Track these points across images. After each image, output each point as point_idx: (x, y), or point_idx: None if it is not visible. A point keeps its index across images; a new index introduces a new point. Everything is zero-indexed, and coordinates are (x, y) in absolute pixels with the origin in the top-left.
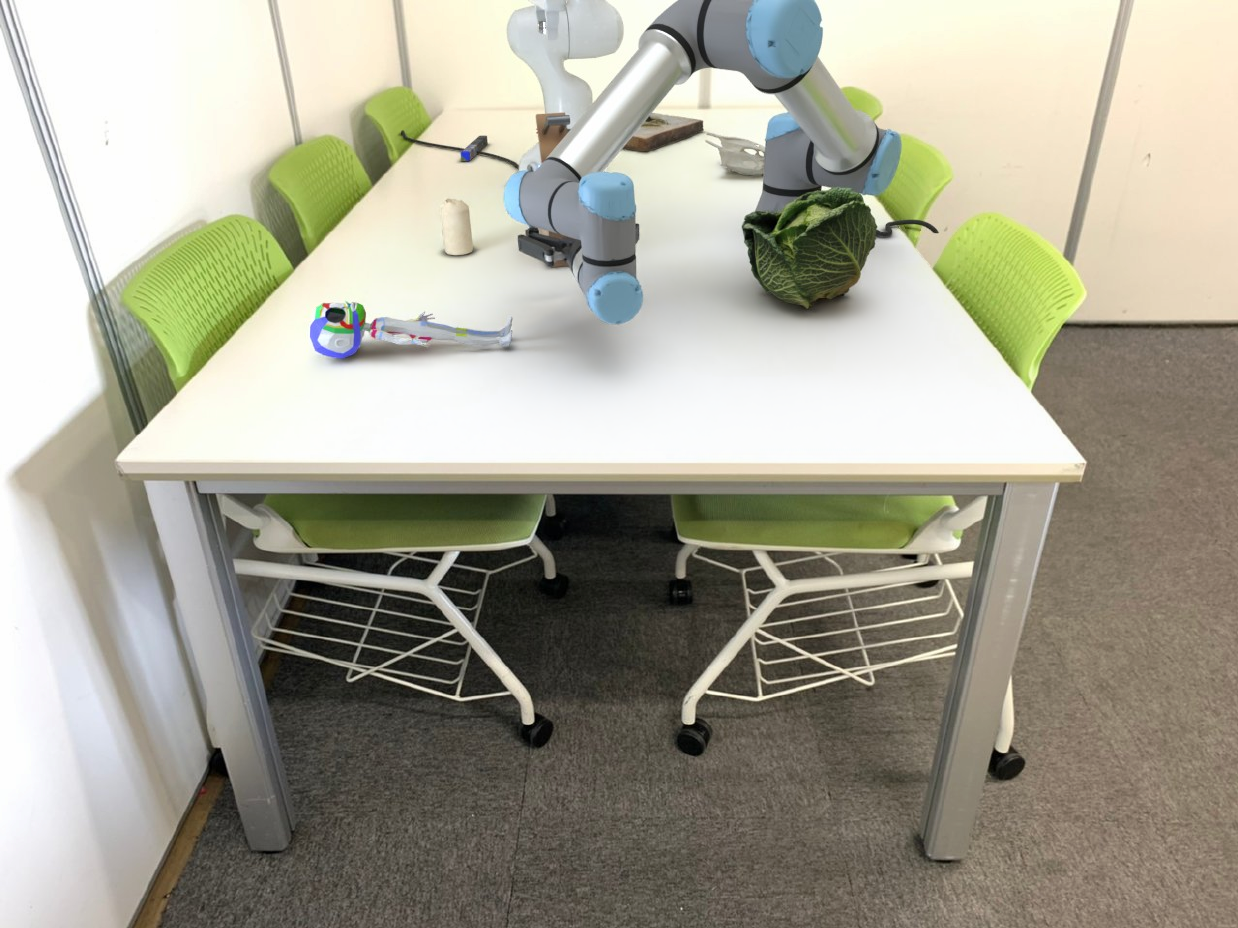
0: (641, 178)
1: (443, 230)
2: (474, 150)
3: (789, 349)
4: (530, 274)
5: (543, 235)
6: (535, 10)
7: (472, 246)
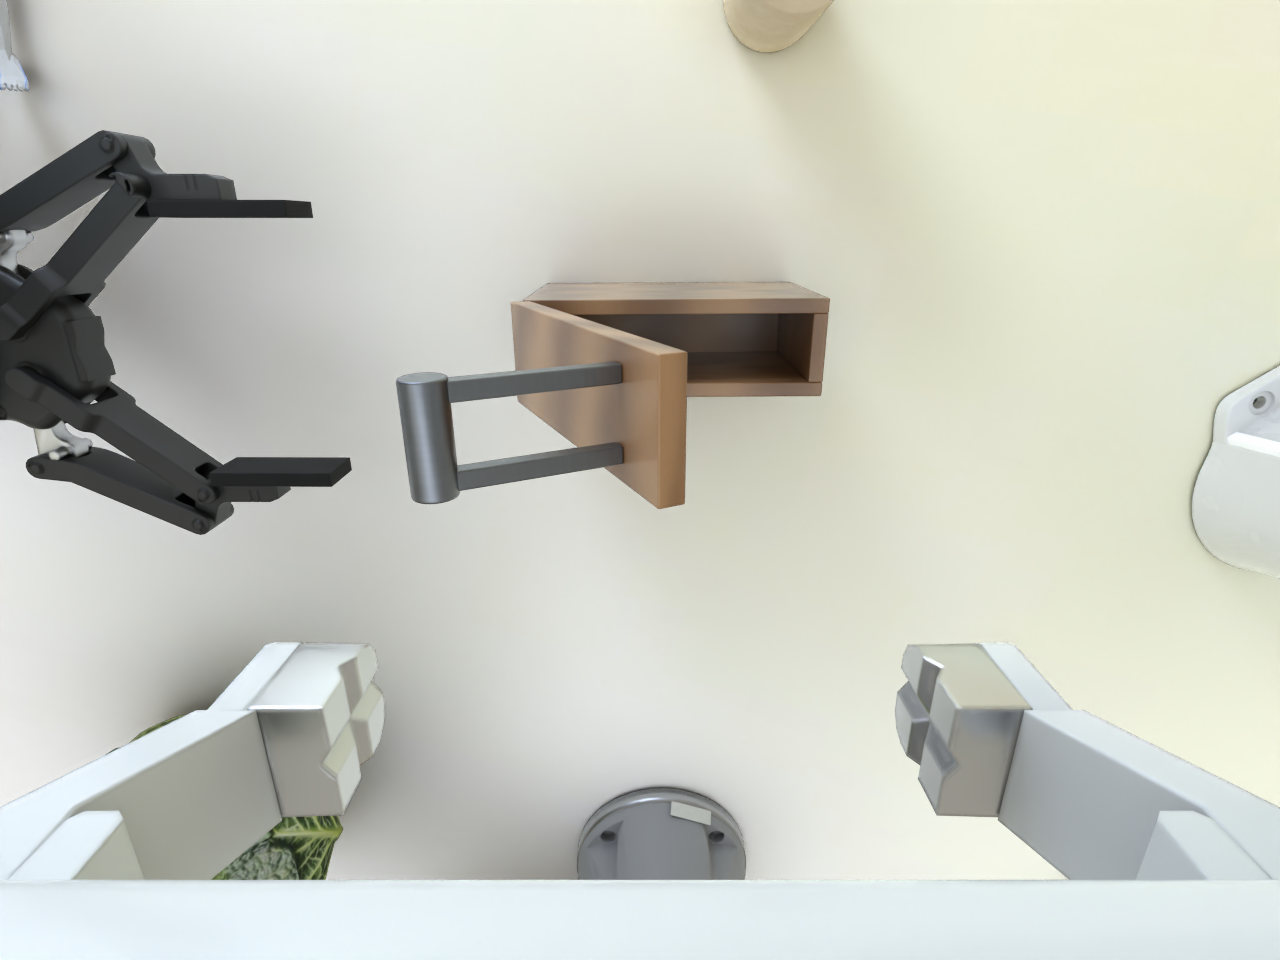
0: (1247, 682)
1: None
2: None
3: (16, 654)
4: (507, 216)
5: (109, 226)
6: (1197, 815)
7: (755, 47)
